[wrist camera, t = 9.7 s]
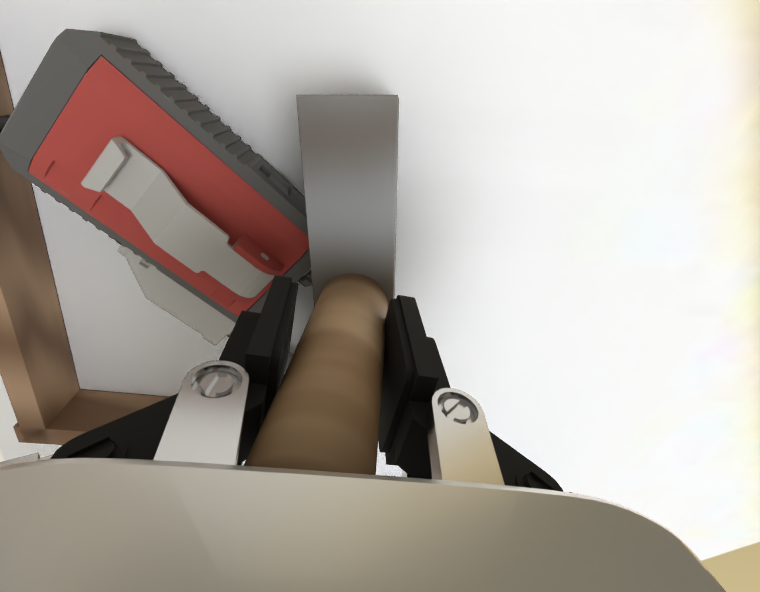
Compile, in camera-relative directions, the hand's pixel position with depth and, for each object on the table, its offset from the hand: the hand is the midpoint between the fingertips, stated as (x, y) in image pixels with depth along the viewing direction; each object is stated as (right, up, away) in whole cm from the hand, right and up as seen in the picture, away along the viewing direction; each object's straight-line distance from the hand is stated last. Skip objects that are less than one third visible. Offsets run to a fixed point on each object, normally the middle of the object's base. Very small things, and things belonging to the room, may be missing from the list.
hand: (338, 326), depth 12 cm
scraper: (+1, +3, +6) cm, 7 cm away
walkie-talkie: (-6, +4, +7) cm, 10 cm away
